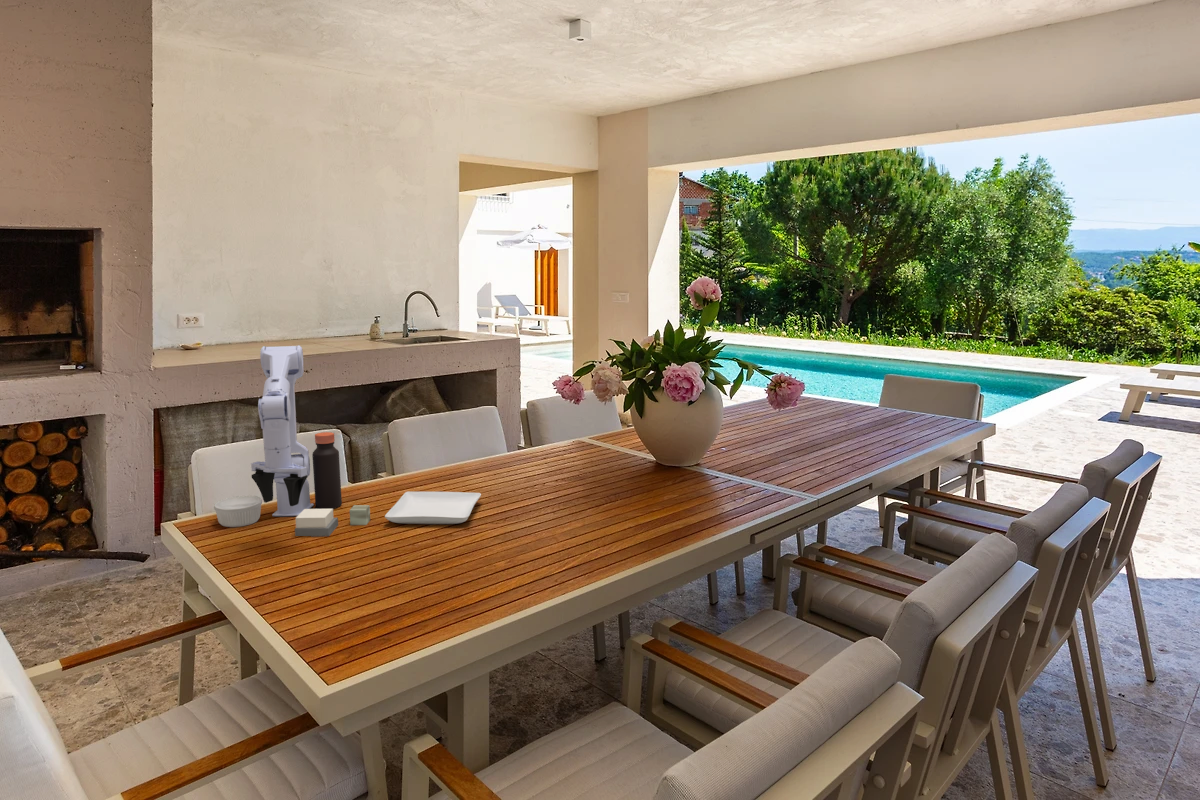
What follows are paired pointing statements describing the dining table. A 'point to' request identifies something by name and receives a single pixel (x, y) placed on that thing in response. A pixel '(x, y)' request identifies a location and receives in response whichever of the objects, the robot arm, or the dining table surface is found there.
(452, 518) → the salad plate
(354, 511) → the sage cube
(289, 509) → the robot arm
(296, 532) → the charcoal slab
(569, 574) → the dining table surface
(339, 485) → the bottle
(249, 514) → the ramekin
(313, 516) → the cream slab
